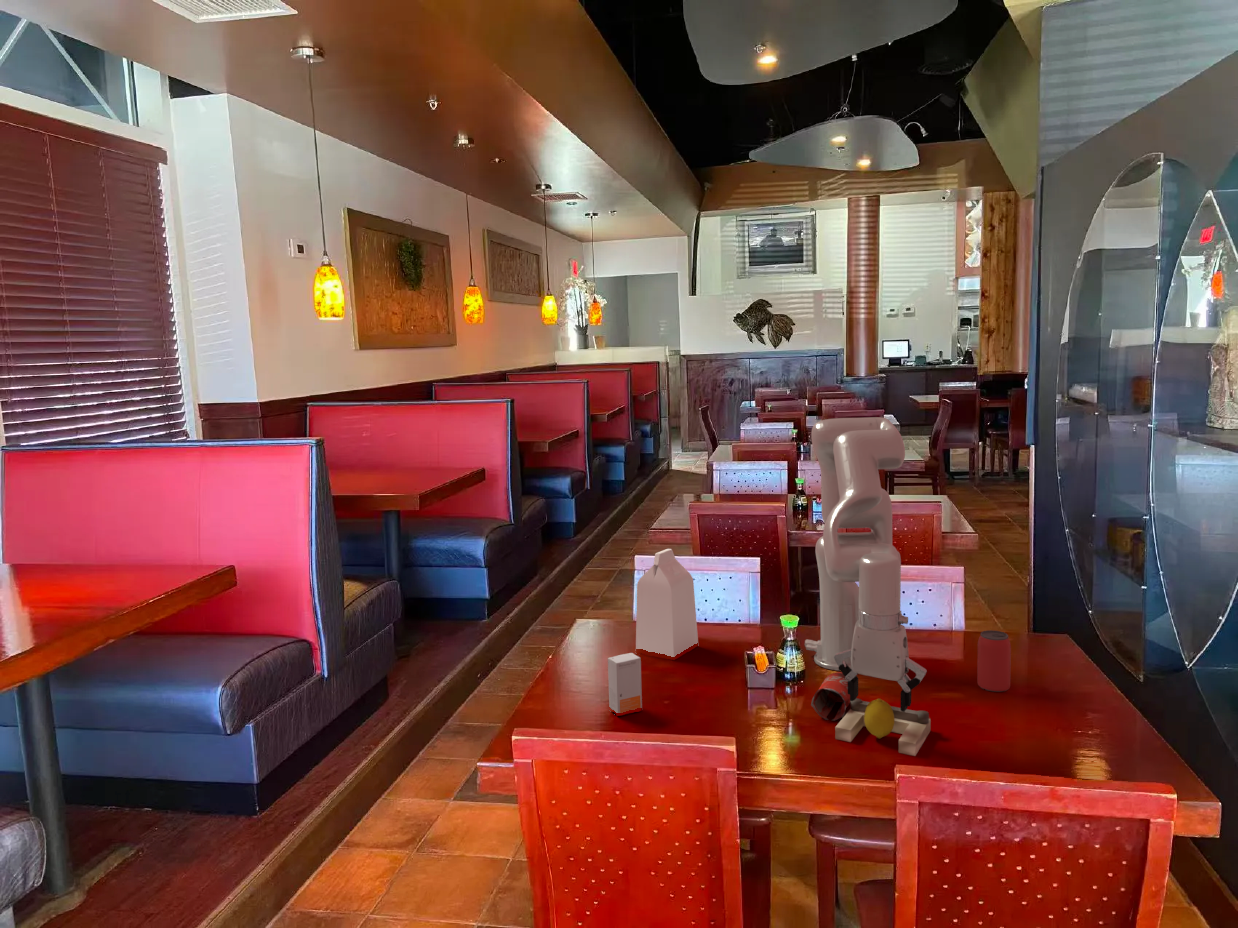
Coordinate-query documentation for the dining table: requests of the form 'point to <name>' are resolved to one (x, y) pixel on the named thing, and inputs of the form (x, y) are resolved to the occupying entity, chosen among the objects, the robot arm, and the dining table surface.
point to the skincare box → (624, 682)
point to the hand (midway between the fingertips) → (878, 703)
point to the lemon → (879, 718)
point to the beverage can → (832, 695)
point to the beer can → (994, 661)
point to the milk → (666, 607)
